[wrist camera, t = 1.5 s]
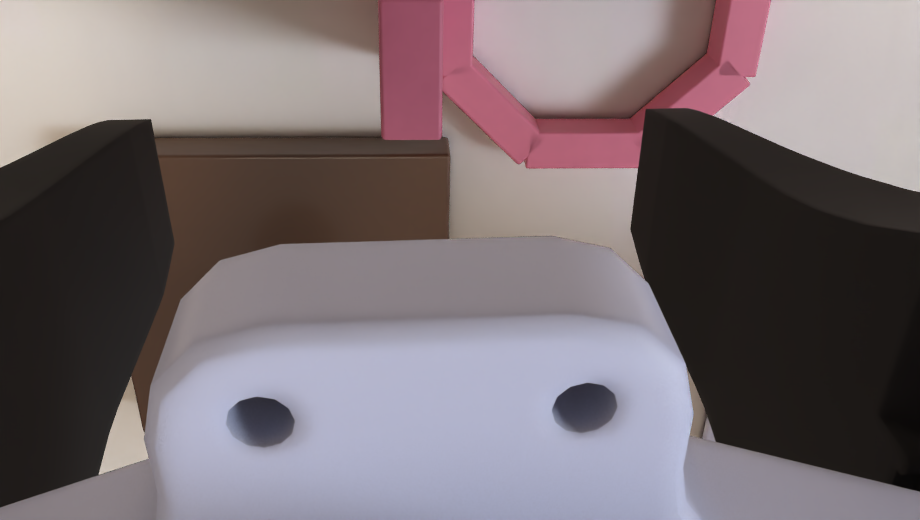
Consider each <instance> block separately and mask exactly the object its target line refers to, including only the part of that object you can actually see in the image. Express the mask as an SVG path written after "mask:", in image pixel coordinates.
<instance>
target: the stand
mask: <svg viewBox="0 0 920 520" xmlns="http://www.w3.org/2000/svg"><path fill="white" fill-rule="evenodd" d="M155 144H156V149H157V154H158V159H159V164H160V169H161V175H162V180H163V185H164V190H165V195H166V201H167V206H168V211H169V216H170V221H171V226H172V232H173V237H174V242H175V244H174V249H173V254H172V259H171V264H170V269H169V274H168V278H167V282H166V287H165V291H164V295H163V298H162V300H161V303H160V306H159V308H158V311H157V313H156V316H155V318H154V321H153V323H152V326H151V328H150V331H149V333H148V336H147V338H146V341H145V343H144V346H143V348H142V350H141V353H140V355H139V358H138V360H137V363H136V365H135V368H134V370H133V372H132V375H131V376H132V380H133V385H134V390H135V394H136V399H137V403H138V408H139V412H140V417H141V422H142V426H143V430H144V432H145V426H146V418H147V409H148V401H149V393H150V386H151V383H152V380H153V377H154V374H155V371H156V368H157V366H158V363H159V360H160V357H161V354H162V351H163V349H164V346H165V343H166V340H167V337H168V334H169V331H170V329H171V326H172V323H173V320H174V317H175V314H176V311H177V309H178V306H179V303H180V300H181V299H182V298H183V297H184V296H185V295H186V294H187V293H188V292H189V291H190V290H191V289H192V288H193V287H194V286H195V285H196V284H197V283H198V282H199V281H200V280H201V279H202V278H203V277H204V276H205V275H206V274H207V273H208V272H209V271H210V270H211V269H212V268H213V267H214V266H215V265H216V264H217V263H218V262H219V260H223V259H227V258H230V257H234V256H238V255H242V254H246V253H249V252H253V251H257V250H261V249H264V248H268V247H272V246H276V245H279V244H302V243H335V242H367V241H400V240H432V239H449V199H450V150H449V141H448V139H447V138H445V137H441V139H439V140H384V139H383V138H382V137H345V138H155Z"/></svg>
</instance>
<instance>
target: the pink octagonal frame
mask: <svg viewBox="0 0 920 520" xmlns="http://www.w3.org/2000/svg"><path fill="white" fill-rule="evenodd" d="M770 3H771V0H716V3H715V9H714V15H713V21H712V27H711V32H710V38H709V44H708V50H707V54H705V55H704V56H703V57H702V58H701V59H699V60H698V61H697V62H696V63H695V64H694V65H692V66H691V67H690V68H689V69H688V70H686V71H685V72H684V73H683V74H682V75H681V76H679V77H678V78H677V79H676V80H675V81H674V82H672V83H671V84H670V85H669V86H668V87H666V88H665V89H664V90H663V91H662V92H661V93H659V94H658V95H657V96H656V97H655V98H653V99H652V100H651V101H650V102H649V103H648V104H646V105H645V106H644V107H643V108H642V109H640V110H639V111H638V112H637V113H636V114H635V115H633V116H632V117H631V118H630V119H535V118H534V117H533V116H532V115H531V114H530V113H529V112H528V111H527V110H526V109H525V108H524V107H523V106H522V105H521V104H520V103H519V102H518V101H517V100H516V99H515V98H514V97H513V96H512V95H511V94H510V93H509V92H508V91H507V90H506V89H505V88H504V87H503V86H502V85H501V84H500V83H499V82H498V81H497V80H496V79H495V78H494V77H493V75H492V74H491V73H490V72H489V71H488V70H487V69H486V68H485V67H484V66H483V65H482V64H481V63H480V62H479V61H478V60H477V59H476V58H475V57H474V56H473V29H474V0H378V26H379V65H380V104H381V136H382V138H383V139H384V140H439V139H441V137H442V92H443V93H444V94H445V95H446V96H447V97H449V98H450V99H451V100H452V101H453V102H454V103H455V104H456V105H457V106H458V107H459V108H460V109H461V110H462V111H463V112H464V113H465V114H466V115H467V116H468V117H469V118H470V119H471V120H472V121H473V122H474V123H475V124H476V125H477V126H478V127H479V128H481V129H482V130H483V131H484V132H485V133H486V134H487V135H488V136H489V137H490V138H491V139H492V140H493V141H494V142H495V143H496V144H497V145H498V146H499V147H500V148H501V149H502V150H503V151H504V152H505V153H506V154H507V155H508V156H509V157H510V158H511V159H512V160H514V161H515V162H516V163H517V164H521V163H522V162H523V161H524V162H525V166H526V168H638V166H639V158H640V150H641V142H642V134H643V126H644V118H645V111H646V109H660V108H689V109H694V110H698V111H701V112H704V113H707V114H709V115H712V116H713V115H714V114H715V113H716V112H718V111H719V110H720V109H721V108H722V107H724V106H725V105H726V104H727V103H729V102H730V101H731V100H732V99H733V98H735V97H736V96H737V95H738V94H740V93H741V92H742V91H743V90H745V89H746V88H747V87H748V86H749V85H750V82H749V81H748V80H747V79H746V78H745V77H755V76H756V71H757V66H758V62H759V57H760V52H761V47H762V42H763V37H764V32H765V27H766V23H767V18H768V13H769V8H770Z"/></svg>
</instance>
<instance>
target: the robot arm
mask: <svg viewBox="0 0 920 520" xmlns="http://www.w3.org/2000/svg"><path fill="white" fill-rule="evenodd" d="M631 233H632V237H633V240H634V244H635V248H636V252H637V256H638V259H639V262H640V266H641V269H642V272H643V275H644V279H645V280H644V279H643V278H642V277H641V276H640V275H639V274H638V273H637V272H636V271H635V270H634V269H632V268H631V267H630V266H629V265H628V264H627V263H626V262H625V261H624V260H623V259H622V258H621V257H620V256H618V255H617V254H616V253H615V252H614V251H613V250H612V249H611V248H608V247H603V246H598V245H594V244H589V243H584V242H579V241H574V240H569V239H564V238H560V237H555V236H530V237H497V238H465V239H432V240H400V241H367V242H335V243H302V244H279V245H276V246H272V247H268V248H264V249H261V250H257V251H253V252H249V253H246V254H242V255H238V256H234V257H230V258H227V259H223V260H219V262H218V263H217V264H216V265H215V266H214V267H213V268H212V269H211V270H210V271H209V272H208V273H207V274H206V275H205V276H204V277H203V278H202V279H201V280H200V281H199V282H198V283H197V284H196V285H195V286H194V287H193V288H192V289H191V290H190V291H189V292H188V293H187V294H186V295H185V296H184V297H183V298H182V299H181V300H180V303H179V306H178V309H177V311H176V314H175V317H174V320H173V323H172V326H171V329H170V331H169V334H168V337H167V340H166V343H165V346H164V349H163V351H162V354H161V357H160V360H159V363H158V366H157V368H156V371H155V374H154V377H153V380H152V383H151V386H150V393H149V401H148V409H147V418H146V426H145V435H144V441H145V445H146V449H147V453H148V457H149V459H146V460H143V461H140V462H137V463H134V464H131V465H128V466H125V467H122V468H119V469H116V470H113V471H110V472H107V473H104V474H101V475H98V474H99V470H100V466H101V462H102V459H103V455H104V451H105V447H106V443H107V440H108V436H109V432H110V429H111V427H112V424H113V421H114V418H115V415H116V412H117V409H118V407H119V404H120V402H121V399H122V397H123V394H124V392H125V389H126V387H127V385H128V382H129V380H130V377H131V375H132V372H133V370H134V368H135V365H136V363H137V360H138V358H139V355H140V353H141V350H142V348H143V346H144V343H145V341H146V338H147V336H148V333H149V331H150V328H151V326H152V323H153V321H154V318H155V316H156V313H157V311H158V308H159V306H160V303H161V300H162V298H163V295H164V291H165V287H166V282H167V278H168V274H169V269H170V264H171V259H172V254H173V249H174V244H175V242H174V237H173V232H172V226H171V221H170V216H169V211H168V206H167V201H166V195H165V190H164V185H163V180H162V175H161V169H160V164H159V159H158V154H157V149H156V144H155V138H154V133H153V128H152V123H151V119H145V120H107V121H103V122H98V123H95V124H93V125H90V126H87V127H85V128H83V129H80V130H78V131H76V132H74V133H72V134H69V135H67V136H65V137H63V138H61V139H59V140H57V141H55V142H53V143H51V144H49V145H47V146H45V147H43V148H41V149H39V150H37V151H35V152H33V153H31V154H29V155H26V156H24V157H22V158H20V159H18V160H16V161H14V162H12V163H10V164H8V165H6V166H3V167H1V168H0V520H920V192H916V191H912V190H907V189H903V188H900V187H896V186H893V185H889V184H886V183H883V182H879V181H876V180H872V179H869V178H865V177H862V176H859V175H856V174H853V173H850V172H847V171H844V170H841V169H838V168H835V167H833V166H830V165H828V164H825V163H822V162H820V161H817V160H814V159H812V158H809V157H807V156H804V155H802V154H799V153H797V152H794V151H792V150H790V149H787V148H785V147H783V146H780V145H778V144H776V143H773V142H771V141H769V140H767V139H764V138H762V137H760V136H758V135H755V134H753V133H751V132H749V131H747V130H744V129H742V128H740V127H738V126H735V125H733V124H731V123H729V122H726V121H724V120H722V119H719V118H717V117H714V116H712V115H709V114H707V113H704V112H701V111H698V110H694V109H689V108H660V109H646V111H645V118H644V126H643V134H642V142H641V150H640V158H639V166H638V173H637V181H636V189H635V197H634V205H633V213H632V221H631ZM686 367H687V368H686ZM687 369H688V371H689V373H690V375H691V377H692V379H693V382H694V384H695V386H696V388H697V391H698V393H699V396H700V398H701V400H702V403H703V405H704V408H705V411H706V414H707V419H706V423H705V428H704V432H703V437H702V439H701V438H697V437H693V436H689V435H690V430H691V425H692V420H693V415H694V413H693V407H692V400H691V394H690V387H689V381H688V374H687Z"/></svg>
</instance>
